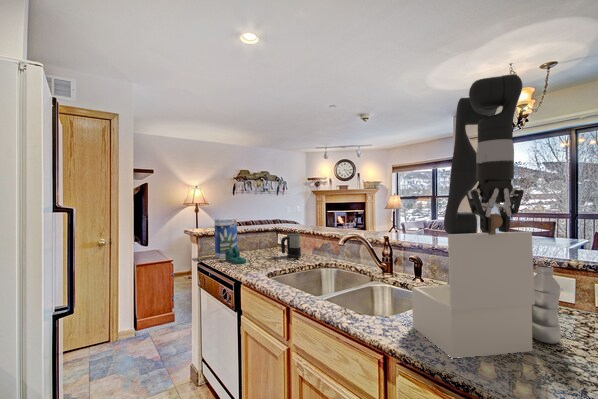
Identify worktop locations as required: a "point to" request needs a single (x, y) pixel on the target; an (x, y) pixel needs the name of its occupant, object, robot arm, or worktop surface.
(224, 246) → the string lights box
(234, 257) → the green toy boot
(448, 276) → the robot arm
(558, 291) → the plastic bottle
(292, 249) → the milk frother
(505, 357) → the worktop surface
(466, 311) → the carton
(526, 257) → the carton lid
